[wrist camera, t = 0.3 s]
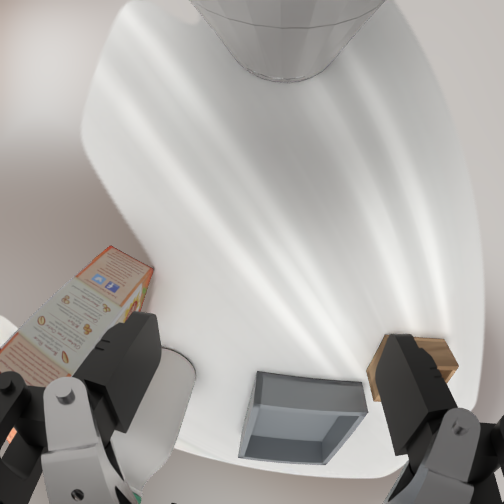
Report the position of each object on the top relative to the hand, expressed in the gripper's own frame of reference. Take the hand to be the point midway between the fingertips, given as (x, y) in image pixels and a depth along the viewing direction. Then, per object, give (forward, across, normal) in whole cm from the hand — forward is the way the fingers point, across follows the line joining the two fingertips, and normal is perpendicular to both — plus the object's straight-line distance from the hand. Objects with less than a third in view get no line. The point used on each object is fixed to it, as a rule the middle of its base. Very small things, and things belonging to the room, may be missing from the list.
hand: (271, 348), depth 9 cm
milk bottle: (+19, +12, +21) cm, 31 cm away
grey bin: (+19, -5, +28) cm, 34 cm away
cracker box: (+18, +17, +12) cm, 28 cm away
